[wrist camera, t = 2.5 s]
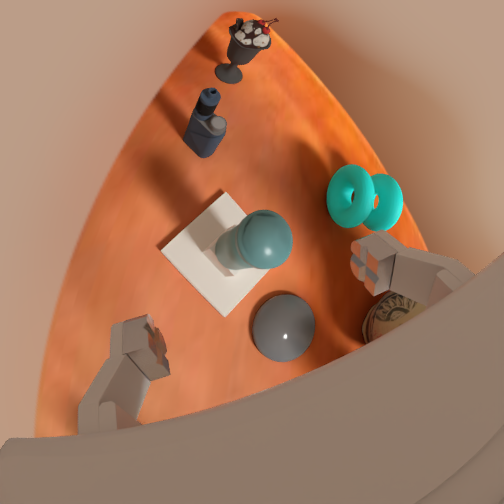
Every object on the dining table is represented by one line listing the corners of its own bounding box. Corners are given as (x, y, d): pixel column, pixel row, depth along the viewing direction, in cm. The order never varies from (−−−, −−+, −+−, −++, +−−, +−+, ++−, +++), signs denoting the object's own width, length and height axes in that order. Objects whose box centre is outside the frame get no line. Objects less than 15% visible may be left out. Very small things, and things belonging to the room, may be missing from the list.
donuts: (321, 174, 47) (359, 153, 37) (363, 184, 50) (401, 168, 41) (324, 231, 46) (367, 220, 36) (367, 236, 49) (409, 227, 40)
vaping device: (191, 128, 39) (213, 79, 28) (215, 152, 40) (245, 109, 29) (179, 138, 38) (197, 89, 27) (203, 162, 39) (229, 120, 28)
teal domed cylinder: (234, 282, 34) (266, 281, 26) (203, 248, 33) (226, 236, 25) (263, 251, 36) (302, 241, 27) (234, 218, 35) (266, 198, 26)
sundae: (253, 85, 44) (294, 29, 30) (218, 90, 41) (253, 27, 27) (238, 59, 43) (274, 3, 29) (205, 63, 41) (234, 0, 27)
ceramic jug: (404, 282, 52) (538, 273, 25) (400, 356, 50) (529, 374, 23) (344, 282, 46) (519, 271, 18) (339, 371, 44) (500, 416, 17)
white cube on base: (223, 316, 38) (234, 321, 33) (160, 251, 36) (163, 246, 31) (279, 255, 42) (296, 252, 37) (224, 193, 40) (235, 182, 35)
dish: (283, 373, 40) (285, 374, 39) (238, 331, 38) (240, 332, 38) (322, 324, 44) (325, 324, 43) (283, 280, 42) (286, 280, 41)
